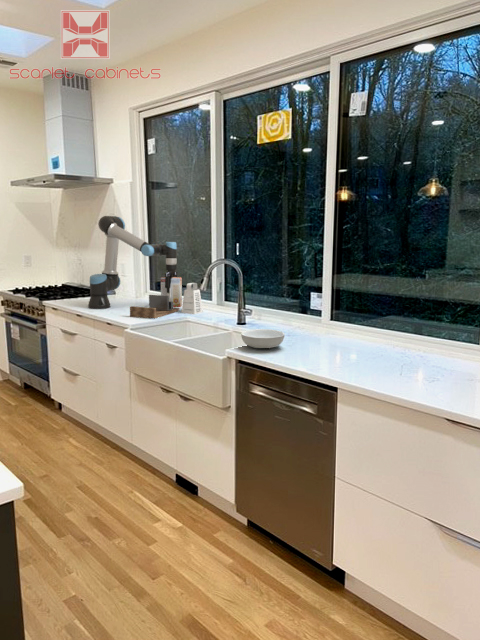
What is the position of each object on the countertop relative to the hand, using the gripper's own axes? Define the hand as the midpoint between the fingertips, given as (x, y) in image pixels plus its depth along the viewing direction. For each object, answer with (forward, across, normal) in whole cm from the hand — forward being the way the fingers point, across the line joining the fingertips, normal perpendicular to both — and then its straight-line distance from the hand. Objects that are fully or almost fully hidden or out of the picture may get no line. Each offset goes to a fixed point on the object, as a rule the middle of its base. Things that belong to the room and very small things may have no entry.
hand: (171, 296), depth 335 cm
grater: (+9, -8, -20) cm, 24 cm away
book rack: (+9, -24, 0) cm, 25 cm away
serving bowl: (+8, -82, -95) cm, 126 cm away
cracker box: (+7, 0, 0) cm, 7 cm away
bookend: (+7, -14, 0) cm, 16 cm away
